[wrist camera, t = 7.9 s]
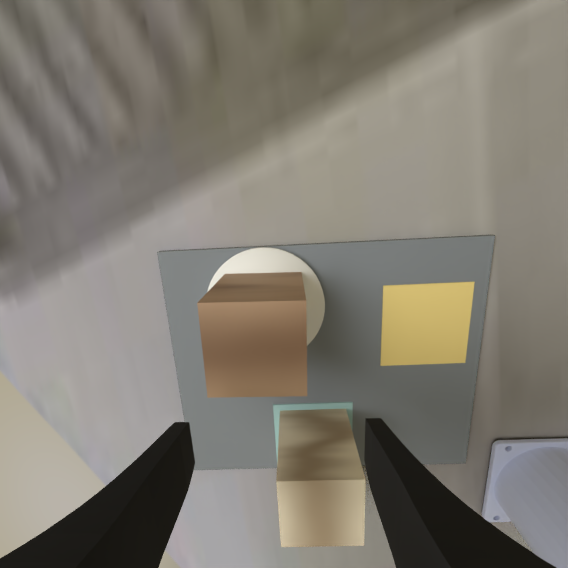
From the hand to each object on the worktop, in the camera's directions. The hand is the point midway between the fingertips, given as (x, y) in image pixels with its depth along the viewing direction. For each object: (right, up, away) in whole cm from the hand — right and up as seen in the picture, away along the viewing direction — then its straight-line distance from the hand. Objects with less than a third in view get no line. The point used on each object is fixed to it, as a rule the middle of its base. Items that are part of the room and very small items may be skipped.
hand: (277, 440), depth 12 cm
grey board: (+3, 0, +10) cm, 11 cm away
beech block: (+3, -6, +11) cm, 13 cm away
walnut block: (-1, +5, +8) cm, 9 cm away
